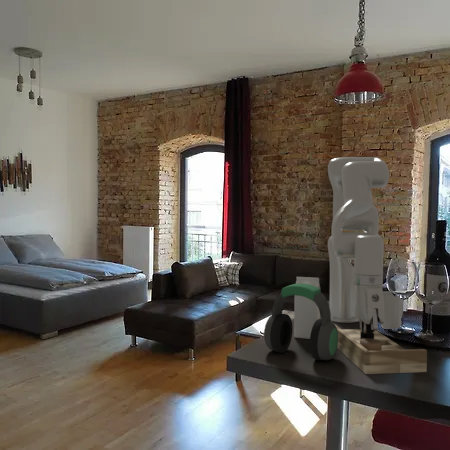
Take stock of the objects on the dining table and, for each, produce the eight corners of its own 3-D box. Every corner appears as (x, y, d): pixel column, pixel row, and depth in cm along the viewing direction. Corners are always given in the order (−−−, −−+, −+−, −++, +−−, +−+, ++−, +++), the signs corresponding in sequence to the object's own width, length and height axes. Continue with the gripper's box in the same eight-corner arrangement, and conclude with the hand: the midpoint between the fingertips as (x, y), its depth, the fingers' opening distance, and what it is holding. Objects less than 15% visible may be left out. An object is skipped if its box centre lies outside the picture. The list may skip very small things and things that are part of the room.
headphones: (339, 355, 127) (340, 285, 126) (326, 367, 118) (327, 291, 117) (278, 344, 137) (278, 278, 136) (261, 354, 128) (261, 284, 127)
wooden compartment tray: (325, 336, 145) (325, 319, 145) (373, 335, 147) (373, 318, 147) (365, 374, 114) (365, 352, 113) (426, 371, 115) (427, 350, 115)
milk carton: (298, 332, 151) (298, 275, 150) (319, 334, 149) (320, 276, 148) (294, 337, 144) (294, 278, 143) (316, 340, 142) (317, 279, 141)
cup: (405, 332, 151) (406, 296, 150) (380, 331, 152) (381, 295, 152) (401, 326, 158) (401, 291, 158) (377, 324, 160) (377, 291, 159)
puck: (356, 353, 123) (356, 338, 122) (375, 352, 123) (375, 337, 123) (365, 360, 117) (365, 345, 117) (385, 359, 118) (385, 344, 118)
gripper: (394, 284, 117) (392, 355, 118) (370, 275, 132) (369, 338, 133) (365, 285, 116) (364, 355, 117) (345, 276, 131) (344, 338, 132)
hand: (367, 346), depth 125 cm, fingers closed
